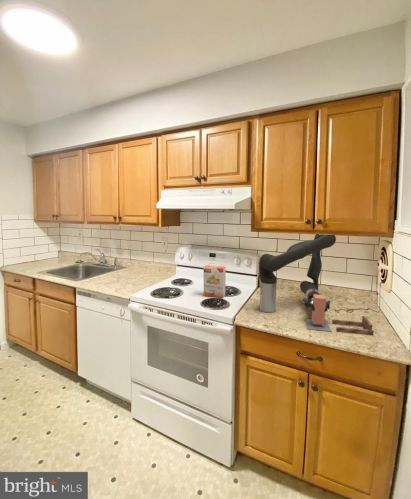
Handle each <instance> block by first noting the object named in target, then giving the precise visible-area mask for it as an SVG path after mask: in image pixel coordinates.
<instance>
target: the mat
mask: <svg viewBox="0 0 411 499" xmlns="http://www.w3.org/2000/svg"><path fill="white" fill-rule="evenodd" d="M304 322H305V326H306V329H307V331H319V332H329V333H331V332H333V331H332V329H331V328H330V325H329V323H328V321H327V320H324V325H318V324H313V322H312V319H309V318H305V319H304Z"/></svg>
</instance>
